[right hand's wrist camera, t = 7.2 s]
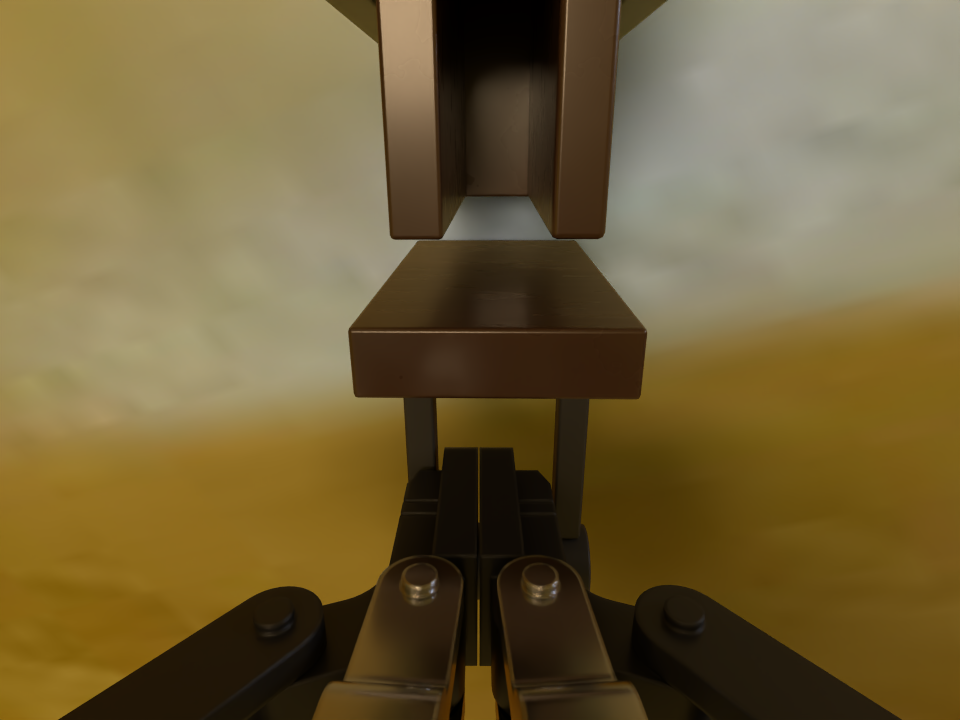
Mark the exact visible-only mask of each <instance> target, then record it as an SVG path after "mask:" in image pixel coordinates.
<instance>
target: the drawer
mask: <svg viewBox="0 0 960 720" xmlns="http://www.w3.org/2000/svg"><path fill="white" fill-rule="evenodd" d="M621 6H622V0H376V14H377V30H378V47H379V63H380V80H381V96H382V112H383V129H384V145H385V162H386V178H387V195H388V211H389V227H390V236H391V238H392V239H395V240H437V241H417V243H416V244H415V245H414V247H413V248H412V249H411V250H410V252H409V253H408V254H407V255H406V257H405V258H404V259H403V261H402V262H401V263H400V264H399V266H398V267H397V268H396V269H395V271H394V272H393V273H392V275H391V276H390V277H389V278H388V280H387V281H386V282H385V283H384V285H383V286H382V287H381V289H380V290H379V291H378V292H377V294H376V295H375V296H374V297H373V299H372V300H371V301H370V303H369V304H368V305H367V306H366V308H365V309H364V310H363V311H362V313H361V314H360V315H359V317H358V318H357V319H356V320H355V322H354V323H353V324H352V325H351V327H350V328H349V331H348V335H349V346H350V357H351V368H352V379H353V390H354V394H355V397H372V398H404V414H405V431H406V448H407V465H408V482H409V481H410V480H411V479H412V478H413V477H414V476H415V475H416V474H417V473H418V472H419V471H420V470H439V466H438V438H437V411H436V398H527V399H556V414H555V435H554V456H553V478H552V495H553V499H554V504H555V509H556V516H557V519H558V523H559V528H560V533H561V538H562V542H563V547H564V552H565V557H566V561H567V564H569V565H570V566H572V567H573V568H574V569H575V570H576V571H577V572H578V574H579V575H580V576H581V578H582V581H583V583H584V586H585V589H586V590H588V591H590V579H591V567H590V551H589V542H588V536H587V532H586V529H585V526H584V525H583V524H581V511H582V496H583V482H584V468H585V453H586V439H587V425H588V410H589V399H639V397H640V395H641V387H642V377H643V367H644V358H645V348H646V339H647V331H646V329H645V327H644V326H643V325H642V324H641V322H640V321H639V320H638V319H637V317H636V316H635V315H634V314H633V312H632V311H631V310H630V309H629V307H628V306H627V305H626V304H625V302H624V301H623V300H622V298H621V297H620V296H619V295H618V293H617V292H616V291H615V290H614V288H613V287H612V286H611V285H610V283H609V282H608V281H607V280H606V278H605V277H604V276H603V275H602V273H601V272H600V271H599V270H598V268H597V267H596V266H595V265H594V263H593V262H592V261H591V260H590V258H589V257H588V256H587V255H586V253H585V252H584V251H583V250H582V248H581V247H580V246H579V245H578V243H577V242H576V241H574V240H439V239H441V238H443V236H444V234H445V232H446V230H447V229H448V227H449V225H450V223H451V221H452V220H453V218H454V216H455V214H456V212H457V211H458V209H459V207H460V205H461V203H462V202H463V200H464V198H465V197H486V196H529V198H530V199H531V201H532V203H533V204H534V206H535V208H536V210H537V211H538V213H539V215H540V216H541V218H542V220H543V221H544V223H545V225H546V226H547V228H548V230H549V232H550V233H551V235H552V237H554V238H556V239H599V238H602V237H603V236H604V234H605V227H606V213H607V199H608V186H609V172H610V158H611V144H612V130H613V116H614V103H615V89H616V75H617V61H618V47H619V33H620V20H621ZM477 599H480V523H478V593H477Z"/></svg>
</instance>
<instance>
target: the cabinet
mask: <svg viewBox="0 0 960 720" xmlns="http://www.w3.org/2000/svg"><path fill="white" fill-rule="evenodd" d="M326 1H327V2H328V3H330V4H331V5H332V6H333V7H335V8H336V9H337V10H338V11H339V12H341V13H342V14H343V15H344V16H345V17H347V18H348V19H349V20H350V21H351V22H353V23H354V24H355V25H356V26H357V27H359V28H360V29H361V30H362V31H364V32H365V33H366V34H367V35H368V36H370V37H371V38H372V39H373V40H374V41H376V42H377V43H378V30H377V14H376V0H326ZM666 1H667V0H622V6H621V20H620V33H619V40H620V39H621V38H622V37H624V36H625V35H626V34H627V33H629V32H630V31H631V30H632V29H633V28H635V27H636V26H637V25H638V24H639V23H641V22H642V21H643V20H644V19H646V18H647V17H648V16H649V15H650V14H652V13H653V12H654V11H655V10H656V9H658V8H659V7H660V6H661V5H663V4H664V3H665V2H666Z"/></svg>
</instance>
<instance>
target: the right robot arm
mask: <svg viewBox="0 0 960 720" xmlns="http://www.w3.org/2000/svg"><path fill="white" fill-rule="evenodd" d="M477 593H478V447H445V449H444V457H443V465H442V470H420V471H419V472H418V473H417V474H416V475H415V476H414V477H413V478H412V479H411V480H410V481H409V482H408V483H407V487H406V491H405V496H404V503H403V505H402V510H401V516H400V519H399V523H398V528H397V532H396V537H395V541H394V546H393V551H392V555H391V560H390V564H389V567H387V568H386V569H385V570H384V571H383V573H382V574H381V575H380V577H379V579H378V581H377V584H376V585H375V586H374V587H373V588H371V589H370V590H368V591H366V592H365V593H363V594H361V595H358V596H356V597H354V598H350V599H347V600H343V601H339V602H335V603H331V604H327V605H323V606H322V603H321V601H320V599H319V598H318V596H316V595H315V594H314V593H313V592H311V591H309V590H307V589H304V588H300V587H291V586H287V587H278V588H273V589H269V590H266V591H263V592H261V593H259V594H256V595H255V596H253V597H251V598H249V599H248V600H246V601H244V602H243V603H241V604H240V605H238V606H237V607H235V608H233V609H232V610H230V611H229V612H227V613H226V614H224V615H222V616H221V617H219V618H218V619H216V620H215V621H213V622H211V623H210V624H208V625H207V626H205V627H204V628H202V629H200V630H199V631H197V632H196V633H194V634H193V635H191V636H189V637H188V638H186V639H185V640H183V641H181V642H180V643H178V644H177V645H175V646H174V647H172V648H170V649H169V650H167V651H166V652H164V653H163V654H161V655H159V656H158V657H156V658H155V659H153V660H152V661H150V662H148V663H147V664H145V665H144V666H142V667H141V668H139V669H137V670H136V671H134V672H133V673H131V674H129V675H128V676H126V677H125V678H123V679H122V680H120V681H118V682H117V683H115V684H114V685H112V686H111V687H109V688H107V689H106V690H104V691H103V692H101V693H100V694H98V695H96V696H95V697H93V698H92V699H90V700H89V701H87V702H85V703H84V704H82V705H81V706H79V707H77V708H76V709H74V710H73V711H71V712H70V713H68V714H66V715H65V716H63V717H62V718H60V719H59V720H464V715H465V666H477ZM480 666H491V678H492V692H493V695H494V698H495V711H496V720H901V719H900V718H898V717H897V716H895V715H894V714H892V713H890V712H889V711H887V710H886V709H884V708H883V707H881V706H879V705H878V704H876V703H875V702H873V701H872V700H870V699H868V698H867V697H865V696H864V695H862V694H861V693H859V692H857V691H856V690H854V689H853V688H851V687H849V686H848V685H846V684H845V683H843V682H842V681H840V680H838V679H837V678H835V677H834V676H832V675H831V674H829V673H827V672H826V671H824V670H823V669H821V668H820V667H818V666H816V665H815V664H813V663H812V662H810V661H809V660H807V659H805V658H804V657H802V656H801V655H799V654H797V653H796V652H794V651H793V650H791V649H790V648H788V647H786V646H785V645H783V644H782V643H780V642H779V641H777V640H775V639H774V638H772V637H771V636H769V635H768V634H766V633H764V632H763V631H761V630H760V629H758V628H757V627H755V626H753V625H752V624H750V623H749V622H747V621H746V620H744V619H742V618H741V617H739V616H738V615H736V614H734V613H733V612H731V611H730V610H728V609H727V608H725V607H723V606H722V605H720V604H719V603H717V602H716V601H714V600H712V599H711V598H709V597H708V596H706V595H704V594H702V593H700V592H698V591H695V590H693V589H690V588H686V587H682V586H676V585H661V586H656V587H653V588H650V589H648V590H646V591H645V592H643V593H642V594H641V595H640V596H639V598H638V599H637V601H636V604H635V606H632V605H628V604H624V603H620V602H616V601H612V600H608V599H605V598H602V597H600V596H597V595H595V594H593V593H591V592H590V591H588V590H586V589H585V586H584V583H583V581H582V578H581V576H580V575H579V574H578V572H577V571H576V570H575V569H574V568H573V567H572V566H570V565H569V564H567V561H566V557H565V552H564V547H563V542H562V538H561V533H560V528H559V523H558V519H557V516H556V509H555V504H554V499H553V495H552V490H551V485H550V483H549V482H548V481H547V480H546V479H545V478H544V477H543V476H542V475H541V473H540V472H539V471H538V470H515V462H514V453H513V448H480Z"/></svg>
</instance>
